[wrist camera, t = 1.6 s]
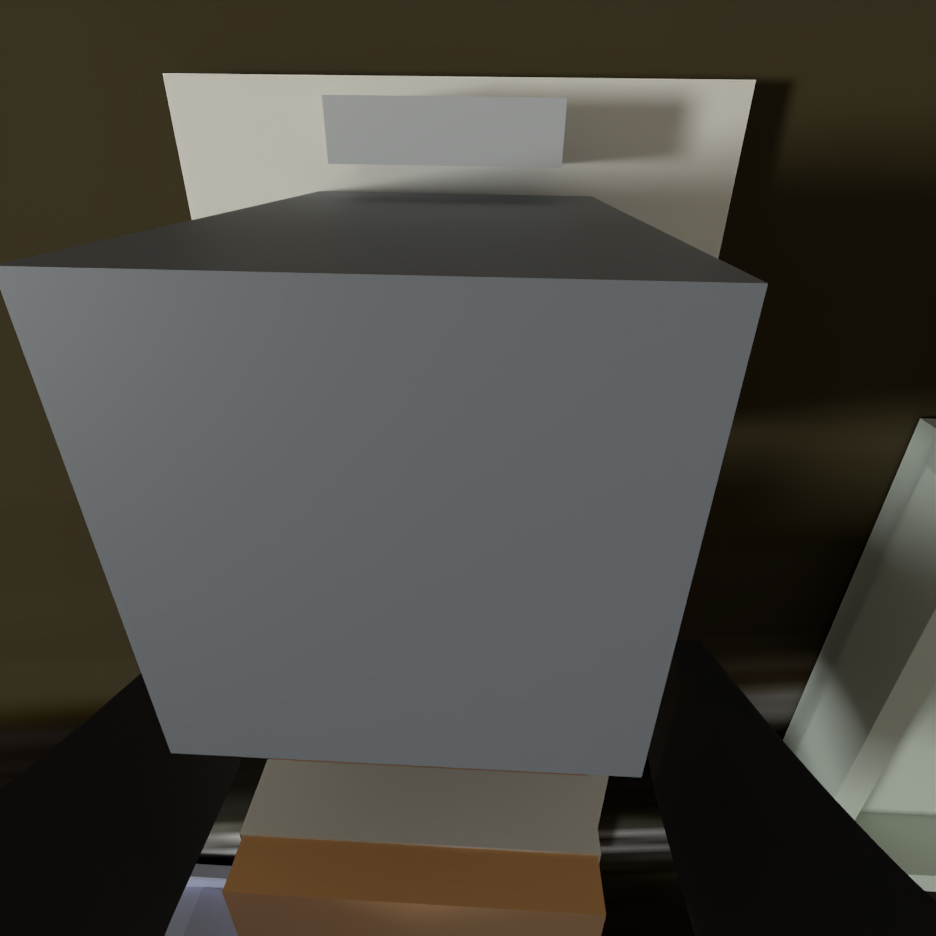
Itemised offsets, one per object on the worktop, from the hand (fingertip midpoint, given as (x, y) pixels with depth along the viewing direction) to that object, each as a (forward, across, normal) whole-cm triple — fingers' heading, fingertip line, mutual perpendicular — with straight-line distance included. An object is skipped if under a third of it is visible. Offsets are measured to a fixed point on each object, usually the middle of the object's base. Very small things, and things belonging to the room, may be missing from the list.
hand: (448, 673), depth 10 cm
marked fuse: (+1, 0, 0) cm, 1 cm away
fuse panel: (+2, 0, 0) cm, 2 cm away
